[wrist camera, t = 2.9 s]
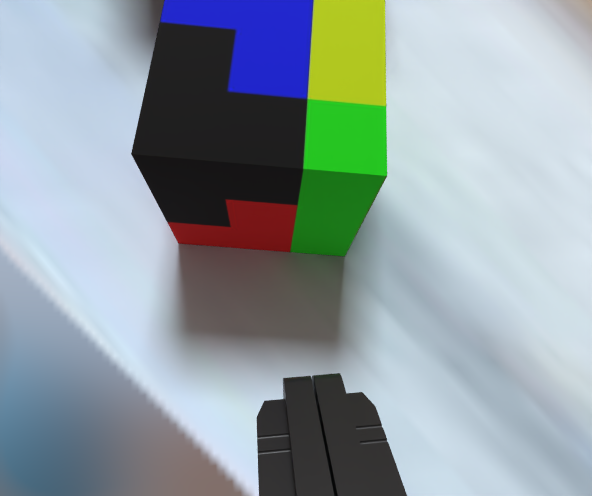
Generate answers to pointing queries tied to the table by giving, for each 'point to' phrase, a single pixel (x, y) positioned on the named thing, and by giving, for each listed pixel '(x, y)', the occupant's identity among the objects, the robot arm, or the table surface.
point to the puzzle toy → (266, 122)
